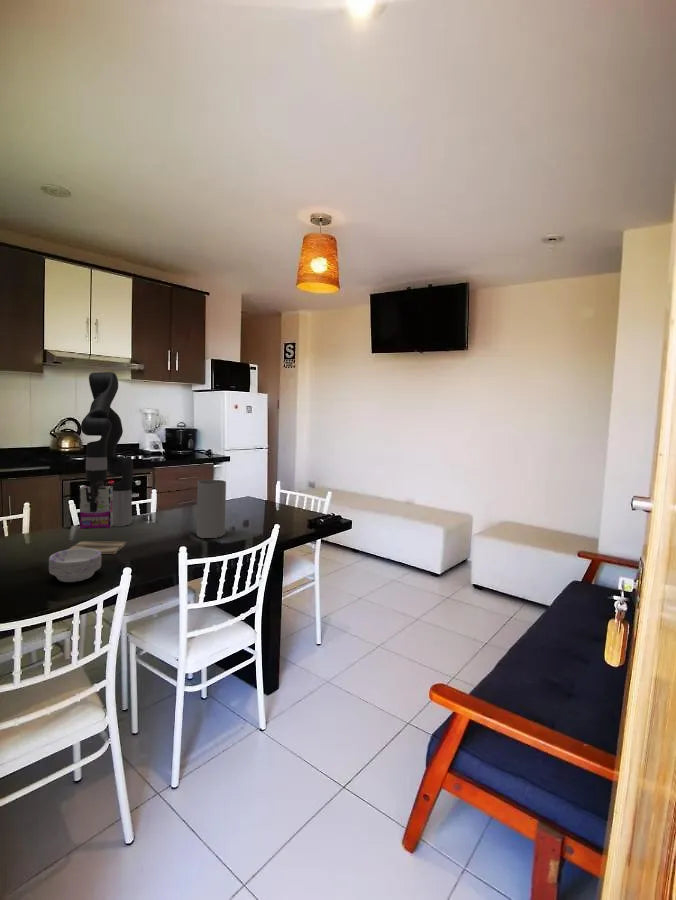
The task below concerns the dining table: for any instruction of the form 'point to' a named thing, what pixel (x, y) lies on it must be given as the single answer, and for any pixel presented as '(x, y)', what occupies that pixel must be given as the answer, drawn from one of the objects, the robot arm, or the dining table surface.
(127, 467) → the robot arm
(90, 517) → the candy bar box
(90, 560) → the paper bowls
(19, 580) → the dining table surface
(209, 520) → the cylinder vase
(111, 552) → the birch board
